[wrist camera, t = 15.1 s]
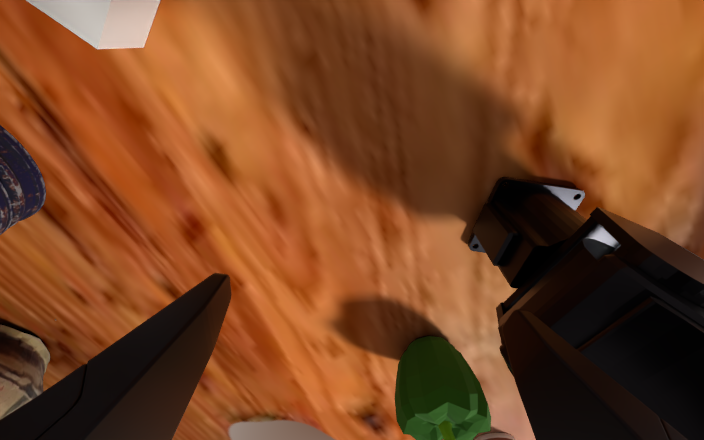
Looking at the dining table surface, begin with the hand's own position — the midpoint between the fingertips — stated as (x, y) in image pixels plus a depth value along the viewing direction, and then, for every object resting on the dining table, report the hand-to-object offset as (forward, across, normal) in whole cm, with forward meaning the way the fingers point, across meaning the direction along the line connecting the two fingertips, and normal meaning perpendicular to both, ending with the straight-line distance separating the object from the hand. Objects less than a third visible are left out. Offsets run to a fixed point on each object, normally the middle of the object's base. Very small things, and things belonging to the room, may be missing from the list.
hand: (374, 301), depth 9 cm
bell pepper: (+13, -11, +21) cm, 27 cm away
